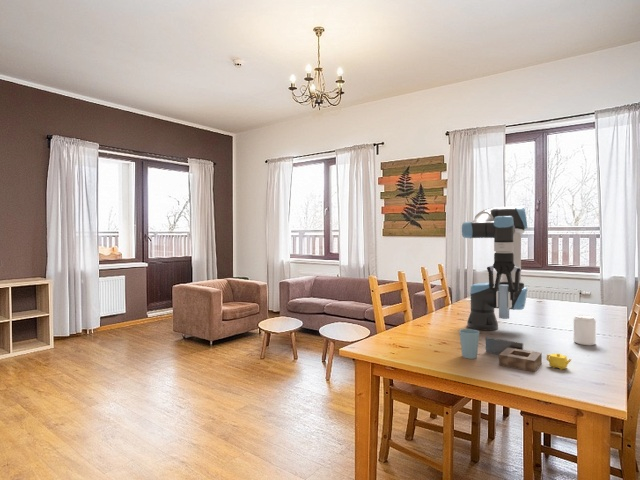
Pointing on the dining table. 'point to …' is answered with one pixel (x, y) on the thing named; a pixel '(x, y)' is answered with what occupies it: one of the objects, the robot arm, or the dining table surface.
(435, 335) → the dining table surface
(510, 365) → the socket block
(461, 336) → the cup
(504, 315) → the peg
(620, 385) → the dining table surface
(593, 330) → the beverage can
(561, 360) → the teapot
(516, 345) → the rail
